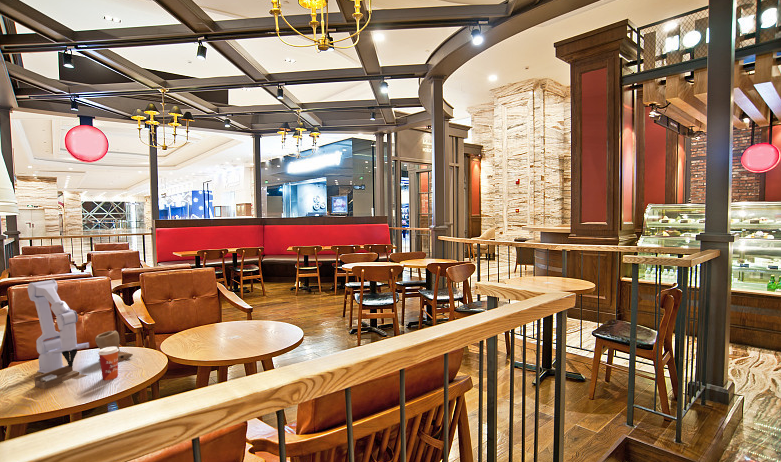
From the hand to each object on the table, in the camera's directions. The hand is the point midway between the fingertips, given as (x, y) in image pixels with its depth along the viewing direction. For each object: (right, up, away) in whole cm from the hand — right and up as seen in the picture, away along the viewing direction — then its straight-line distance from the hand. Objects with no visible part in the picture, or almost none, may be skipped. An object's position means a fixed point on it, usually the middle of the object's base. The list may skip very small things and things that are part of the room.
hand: (70, 366), depth 182 cm
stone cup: (+6, -4, +19) cm, 21 cm away
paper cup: (+21, -5, -3) cm, 22 cm away
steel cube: (-1, -3, -8) cm, 9 cm away
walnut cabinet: (+1, -5, -6) cm, 8 cm away
